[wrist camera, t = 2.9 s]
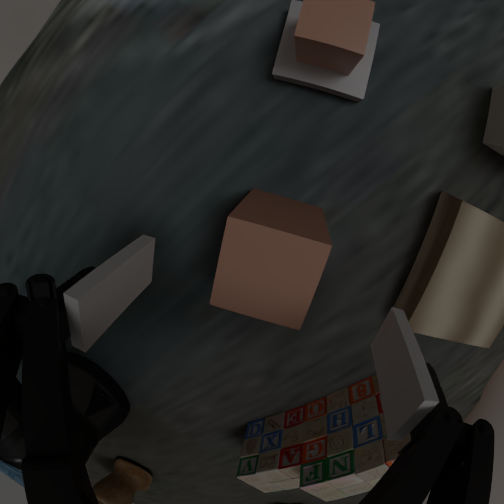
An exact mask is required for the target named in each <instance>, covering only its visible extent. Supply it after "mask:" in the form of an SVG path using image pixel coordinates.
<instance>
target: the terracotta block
mask: <svg viewBox="0 0 504 504" xmlns="http://www.w3.org/2000/svg"><path fill="white" fill-rule="evenodd" d="M331 248H332V243H331V239H330V235H329V232H328V228H327V224H326V220H325V217H324V213H323V209H322V208H320V207H317V206H313V205H310V204H306V203H303V202H300V201H296V200H293V199H289V198H286V197H282V196H278V195H275V194H271V193H268V192H264V191H260V190H256V189H252V190H251V191H250V193H249V194H248V195H247V196H246V197H245V198H244V199H243V200H242V201H241V202H240V203H239V204H238V206H237V207H236V208H235V209H234V210H233V211H232V212H231V213H230V214H229V215H228V218H227V222H226V227H225V231H224V236H223V241H222V246H221V250H220V255H219V260H218V265H217V270H216V274H215V279H214V284H213V289H212V294H211V299H210V305H213V306H217V307H220V308H223V309H226V310H230V311H233V312H236V313H240V314H243V315H247V316H250V317H253V318H257V319H261V320H264V321H268V322H271V323H275V324H279V325H282V326H286V327H290V328H293V329H297V330H300V328H301V326H302V323H303V321H304V318H305V316H306V314H307V311H308V309H309V306H310V304H311V301H312V298H313V296H314V293H315V291H316V288H317V286H318V283H319V280H320V278H321V275H322V272H323V270H324V267H325V264H326V262H327V259H328V256H329V253H330V250H331Z"/></svg>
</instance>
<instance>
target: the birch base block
mask: <svg viewBox="0 0 504 504" xmlns="http://www.w3.org/2000/svg"><path fill="white" fill-rule="evenodd" d="M394 308H398V309H402V310H403V311H404V313H405V315H406V317H407V320H408V322H409V324H410V326H411V329H412V331H413V332H414V333H419V334H423V335H428V336H432V337H437V338H441V339H446V340H450V341H455V342H460V343H465V344H470V345H474V346H479V347H484V348H489V347H490V346H491V344H492V343H493V341H494V340H495V338H496V337H497V335H498V333H499V332H500V330H501V328H502V327H503V325H504V222H502V221H501V220H499V219H497V218H495V217H493V216H492V215H490V214H488V213H486V212H484V211H482V210H480V209H478V208H476V207H474V206H472V205H470V204H468V203H466V202H464V201H462V200H460V199H458V198H456V197H454V196H452V195H450V194H448V193H445V192H443V191H441V194H440V197H439V200H438V203H437V206H436V209H435V212H434V215H433V217H432V220H431V223H430V225H429V228H428V231H427V233H426V236H425V238H424V241H423V243H422V246H421V248H420V250H419V253H418V255H417V258H416V260H415V262H414V264H413V267H412V269H411V271H410V273H409V276H408V278H407V280H406V282H405V284H404V286H403V288H402V290H401V292H400V295H399V297H398V299H397V301H396V303H395V305H394Z"/></svg>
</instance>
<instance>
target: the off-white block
mask: <svg viewBox="0 0 504 504" xmlns="http://www.w3.org/2000/svg"><path fill="white" fill-rule="evenodd" d="M483 143H484V144H485V145H487V146H488V147H490V148H492V149H493V150H495V151H496V152H498V153H499V154H501V155H502V156H504V86H498V87H493V88H492V95H491V101H490V108H489V113H488V119H487V124H486V129H485V134H484V138H483Z"/></svg>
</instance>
